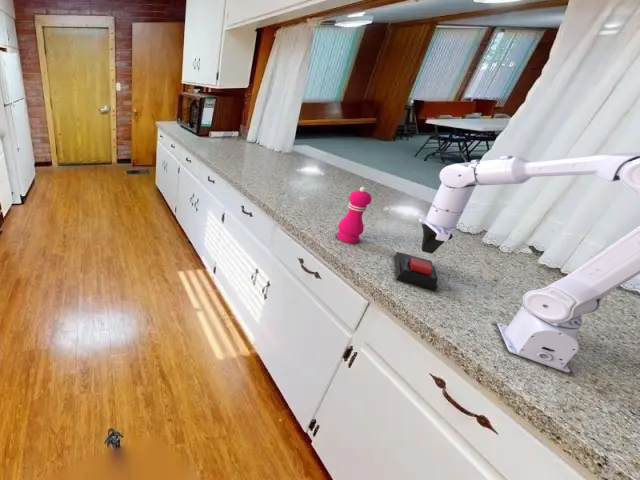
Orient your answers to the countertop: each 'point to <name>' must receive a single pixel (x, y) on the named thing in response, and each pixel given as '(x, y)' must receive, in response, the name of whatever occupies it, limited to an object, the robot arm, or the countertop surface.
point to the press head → (420, 266)
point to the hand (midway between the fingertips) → (426, 251)
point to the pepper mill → (354, 216)
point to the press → (414, 273)
